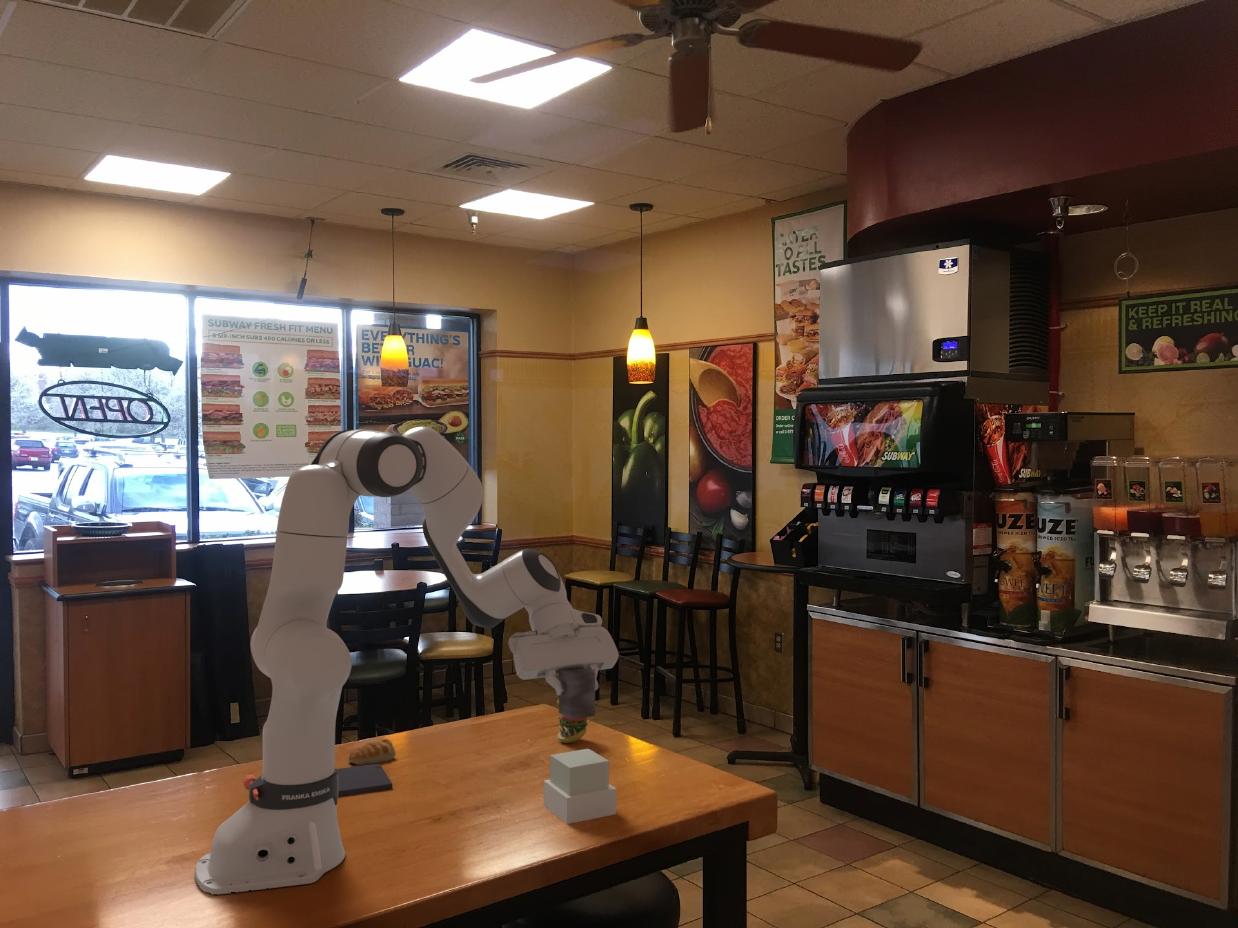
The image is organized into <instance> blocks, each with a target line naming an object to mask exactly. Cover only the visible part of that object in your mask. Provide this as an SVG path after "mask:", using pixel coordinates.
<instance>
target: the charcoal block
mask: <svg viewBox="0 0 1238 928" xmlns="http://www.w3.org/2000/svg"><path fill="white" fill-rule="evenodd" d="M558 680H559V681H560V682H561V683H562V682H565V685H566V688H567V692H566V694H565V695H559V696H558V699H559V705H558V714H560V715H561V714H562V715H564V716H565V717H567V718H569V719H570V720H571V719H578V718H584V717H588V718H589V717H590V718H591V717H595V716H596V690H595V672H593V671H591V670H589V669H587V668H584V667H577V668H569V669H561V670H559V675H558Z"/></svg>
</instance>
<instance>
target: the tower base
mask: <svg viewBox="0 0 1238 928" xmlns="http://www.w3.org/2000/svg"><path fill="white" fill-rule="evenodd" d="M543 807H545V808H546V809H547V810H549V811H550V812H551V813H552V814H553V815H555V816H556V817H557V818H559V819H560V820H561V821H562V822H564V824H566V825H570V824H574V823H578V822H584V821H591V820H593V819H599V818H604V817H609V816H613V815H617V788H616V787H615V786H614V785H611V784H610V783H609V788H606V789H601V790H596V791H591V792H586V793H581V794H575V795H570V796H569V795H568V794H566V793H565V792H564V791H562V790H561V789H559V788H558V787H557V786H555V785H554V784H552V783H551V782H550V778H549V779H544V780H543Z"/></svg>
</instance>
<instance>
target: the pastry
mask: <svg viewBox="0 0 1238 928" xmlns="http://www.w3.org/2000/svg"><path fill="white" fill-rule="evenodd" d="M395 757H396V750H395V747H394V745H393V742H392V741H391V740H389V739H388V738H382V739H380V740H374V741H369V742H367V743H365V744H364V745H362V746H361V747H358V748H356V749H355V750H353V751H351V752H350V753H349V756H348V762H350V763H352V764H355V765H357V766H363V765H371V764H379V763H382V762H387V761H390V760H391V761H392V760H393V759H394V758H395Z"/></svg>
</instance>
